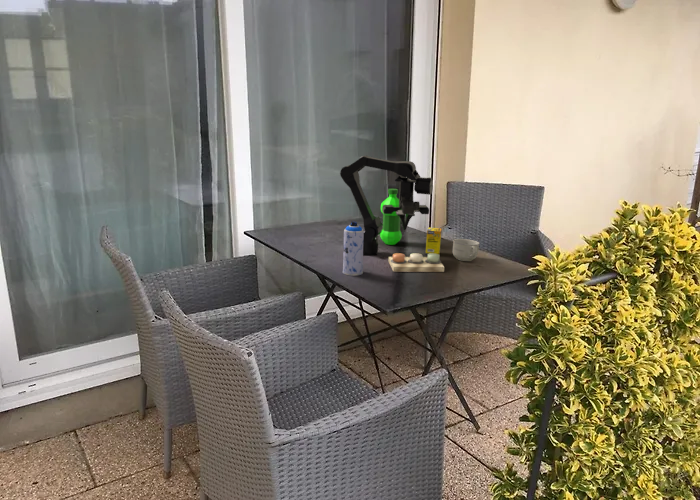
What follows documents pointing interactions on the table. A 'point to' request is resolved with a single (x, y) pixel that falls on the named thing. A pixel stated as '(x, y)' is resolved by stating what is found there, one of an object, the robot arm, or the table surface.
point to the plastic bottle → (391, 220)
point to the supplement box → (433, 240)
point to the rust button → (398, 257)
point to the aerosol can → (353, 250)
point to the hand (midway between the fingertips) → (404, 229)
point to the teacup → (465, 249)
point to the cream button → (415, 257)
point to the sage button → (433, 257)
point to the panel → (416, 266)
